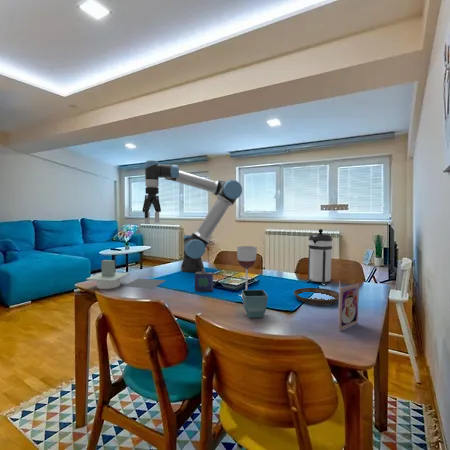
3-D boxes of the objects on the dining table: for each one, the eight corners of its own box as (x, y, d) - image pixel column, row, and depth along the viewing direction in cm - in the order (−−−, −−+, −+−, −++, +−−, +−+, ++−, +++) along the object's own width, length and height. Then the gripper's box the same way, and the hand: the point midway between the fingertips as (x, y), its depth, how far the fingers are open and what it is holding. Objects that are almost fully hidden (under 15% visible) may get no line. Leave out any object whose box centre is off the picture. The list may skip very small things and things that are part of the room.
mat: (166, 281, 167) (166, 280, 167) (153, 289, 150) (153, 288, 150) (138, 279, 170) (138, 278, 170) (122, 287, 153) (122, 286, 153)
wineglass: (258, 294, 143) (258, 246, 141) (253, 300, 133) (254, 249, 132) (239, 292, 146) (240, 245, 144) (233, 298, 136) (234, 248, 135)
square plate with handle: (129, 274, 160) (128, 258, 159) (113, 281, 145) (113, 263, 145) (104, 273, 163) (103, 257, 162) (86, 279, 148) (85, 262, 148)
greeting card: (341, 332, 100) (342, 288, 99) (322, 325, 106) (323, 283, 105) (359, 324, 107) (361, 283, 106) (341, 318, 113) (342, 279, 112)
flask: (213, 289, 150) (213, 268, 149) (212, 291, 147) (212, 270, 146) (195, 289, 150) (194, 268, 149) (194, 291, 147) (194, 269, 147)
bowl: (123, 284, 159) (123, 275, 158) (112, 290, 148) (112, 280, 148) (105, 283, 161) (105, 274, 160) (92, 288, 150) (92, 278, 150)
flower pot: (241, 311, 119) (241, 289, 118) (262, 311, 119) (263, 289, 119) (244, 320, 110) (244, 296, 109) (267, 319, 111) (268, 296, 110)
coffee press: (339, 286, 159) (341, 230, 157) (309, 285, 159) (310, 229, 157) (328, 278, 176) (330, 227, 174) (301, 278, 176) (302, 227, 174)
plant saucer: (285, 295, 142) (285, 288, 141) (321, 292, 148) (321, 285, 148) (311, 309, 122) (311, 302, 122) (351, 304, 129) (351, 297, 129)
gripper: (155, 188, 188) (155, 222, 189) (135, 185, 164) (136, 224, 165) (166, 188, 187) (166, 222, 188) (148, 185, 162) (148, 224, 164)
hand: (152, 223), depth 176 cm, fingers open, 13 cm apart
